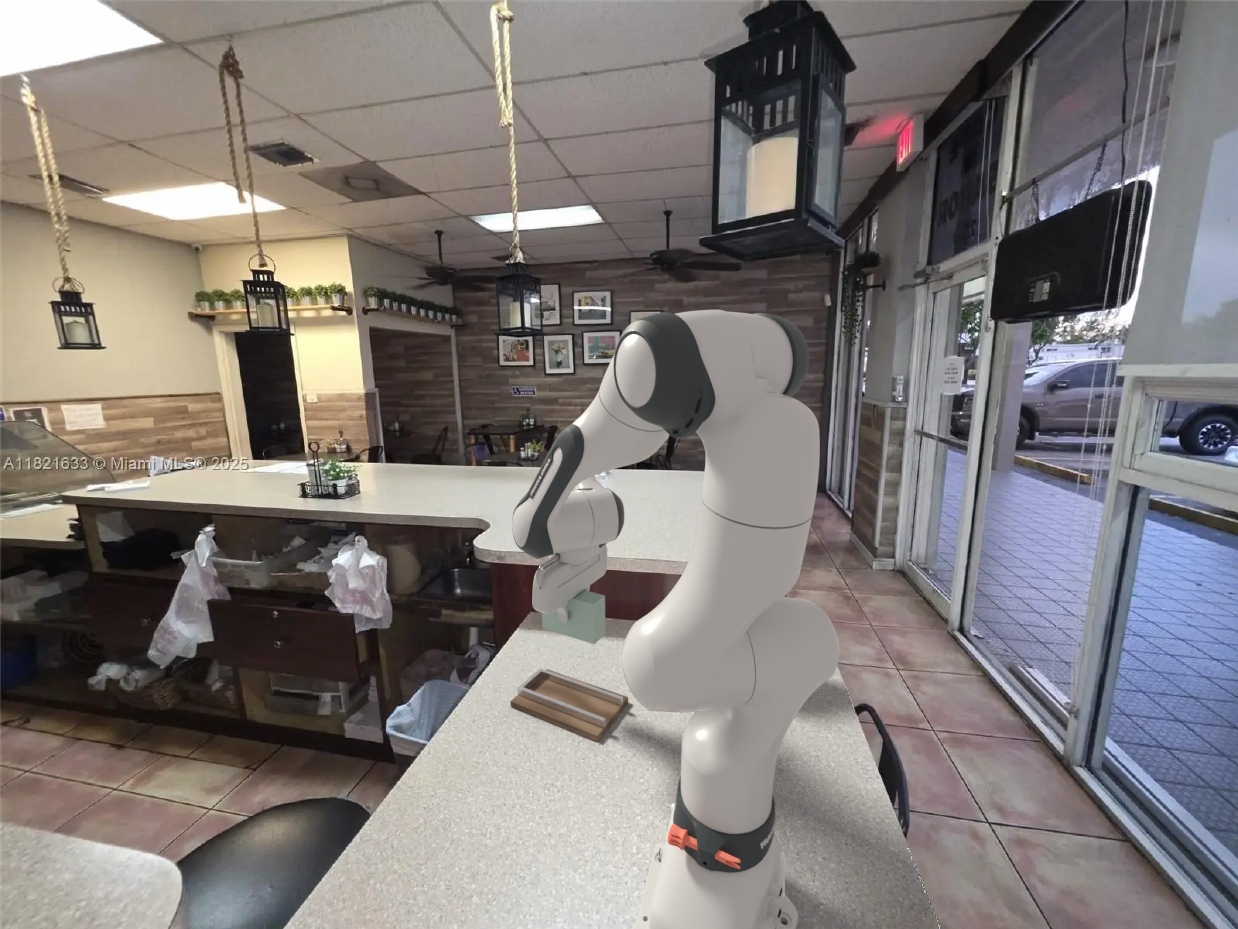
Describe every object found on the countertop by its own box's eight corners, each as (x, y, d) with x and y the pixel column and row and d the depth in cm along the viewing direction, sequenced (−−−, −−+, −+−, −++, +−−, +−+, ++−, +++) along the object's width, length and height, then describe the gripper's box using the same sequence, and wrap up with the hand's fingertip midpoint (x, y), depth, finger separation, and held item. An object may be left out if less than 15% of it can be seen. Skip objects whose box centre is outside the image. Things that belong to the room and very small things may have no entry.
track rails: (603, 728, 90) (603, 721, 90) (517, 694, 100) (517, 688, 99) (623, 703, 97) (622, 696, 96) (540, 674, 106) (540, 668, 106)
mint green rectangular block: (594, 644, 91) (593, 604, 90) (542, 628, 97) (540, 590, 95) (605, 634, 95) (604, 595, 93) (554, 618, 100) (553, 582, 99)
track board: (597, 742, 89) (597, 736, 88) (510, 706, 98) (510, 701, 98) (628, 702, 99) (628, 697, 99) (547, 674, 108) (546, 669, 108)
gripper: (551, 569, 82) (554, 644, 85) (612, 532, 99) (613, 596, 102) (521, 562, 85) (525, 635, 88) (586, 527, 102) (587, 589, 105)
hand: (573, 613), depth 95 cm, fingers closed on mint green rectangular block, 4 cm apart
